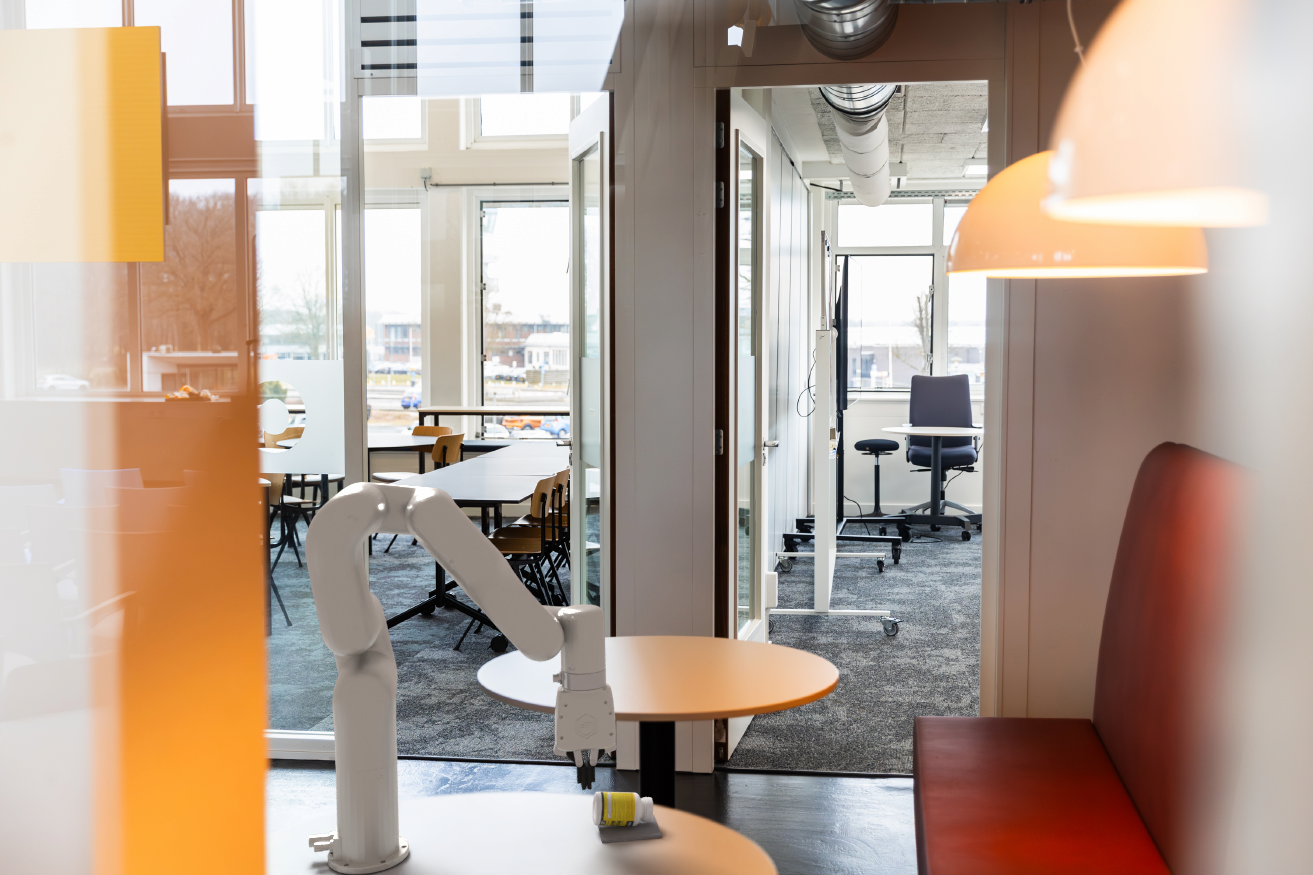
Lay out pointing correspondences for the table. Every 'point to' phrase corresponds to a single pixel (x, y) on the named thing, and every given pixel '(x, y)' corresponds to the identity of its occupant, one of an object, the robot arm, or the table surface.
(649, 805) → the supplement bottle
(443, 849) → the table surface
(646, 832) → the mat
